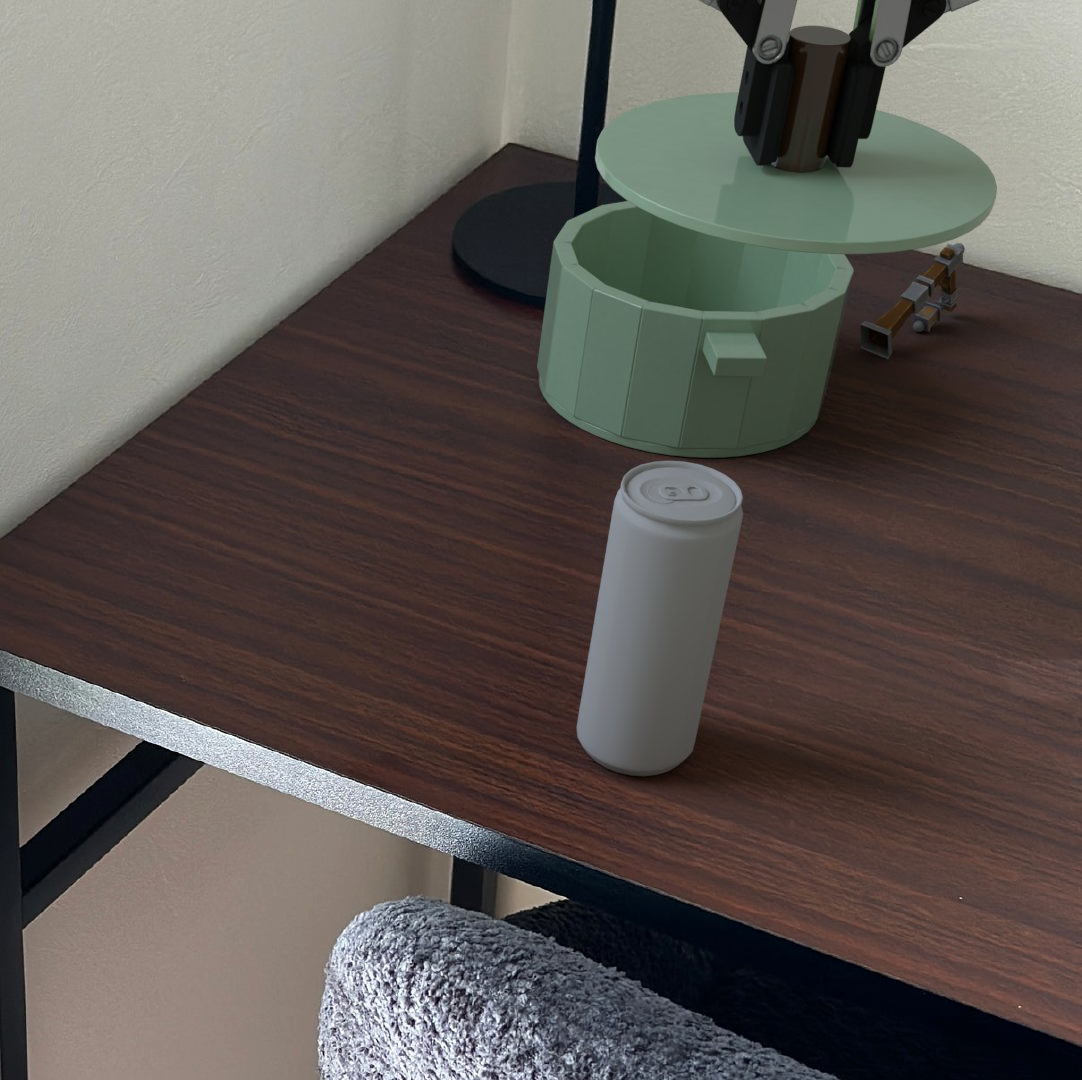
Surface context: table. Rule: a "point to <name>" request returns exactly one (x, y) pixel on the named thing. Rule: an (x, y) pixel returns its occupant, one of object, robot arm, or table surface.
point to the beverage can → (658, 615)
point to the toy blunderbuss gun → (917, 303)
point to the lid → (797, 169)
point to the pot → (687, 335)
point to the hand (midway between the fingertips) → (796, 150)
